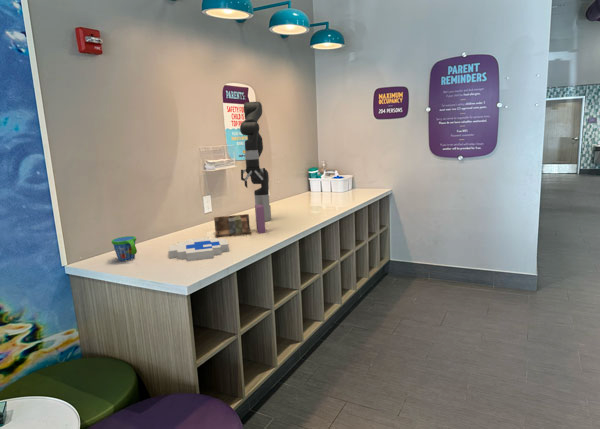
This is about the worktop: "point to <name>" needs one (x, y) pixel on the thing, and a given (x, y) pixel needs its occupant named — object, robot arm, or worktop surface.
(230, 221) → the camouflage pattern block
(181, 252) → the pixel art tile
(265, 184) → the robot arm
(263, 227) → the plum book
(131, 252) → the snack cup
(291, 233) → the worktop surface
